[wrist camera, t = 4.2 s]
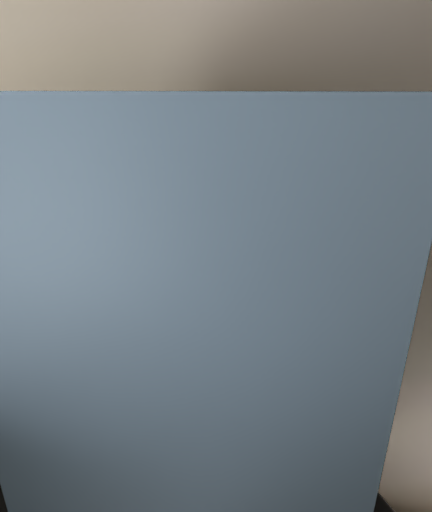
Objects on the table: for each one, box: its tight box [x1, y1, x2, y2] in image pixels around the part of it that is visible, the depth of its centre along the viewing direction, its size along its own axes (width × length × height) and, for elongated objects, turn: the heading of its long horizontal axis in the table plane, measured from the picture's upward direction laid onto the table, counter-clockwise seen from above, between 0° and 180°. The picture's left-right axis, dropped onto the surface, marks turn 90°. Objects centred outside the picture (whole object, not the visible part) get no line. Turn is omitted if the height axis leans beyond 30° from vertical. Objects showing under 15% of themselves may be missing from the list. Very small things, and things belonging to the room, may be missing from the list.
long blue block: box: [0, 91, 432, 512], centre depth 7 cm, size 4×13×6 cm, turn 0°
